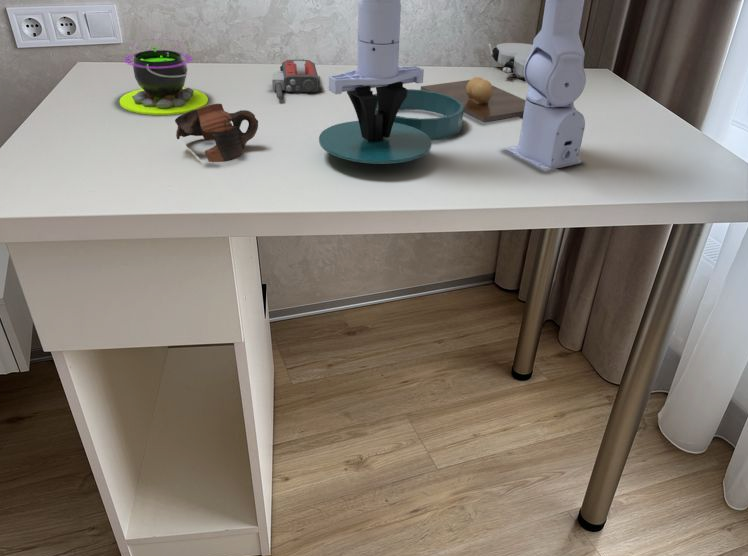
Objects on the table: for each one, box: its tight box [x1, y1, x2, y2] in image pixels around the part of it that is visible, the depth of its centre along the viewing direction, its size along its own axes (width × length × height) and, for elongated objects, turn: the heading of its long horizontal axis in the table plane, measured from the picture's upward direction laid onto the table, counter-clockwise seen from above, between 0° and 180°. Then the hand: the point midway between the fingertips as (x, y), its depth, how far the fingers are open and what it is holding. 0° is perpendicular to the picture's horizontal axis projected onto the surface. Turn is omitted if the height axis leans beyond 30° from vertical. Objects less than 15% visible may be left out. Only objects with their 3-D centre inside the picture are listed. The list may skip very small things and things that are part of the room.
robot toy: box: [488, 42, 533, 79], centre depth 150 cm, size 12×4×15 cm
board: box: [420, 79, 526, 123], centre depth 132 cm, size 20×14×1 cm
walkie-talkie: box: [271, 58, 320, 101], centre depth 132 cm, size 9×4×20 cm
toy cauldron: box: [119, 31, 209, 116], centre depth 120 cm, size 15×15×11 cm
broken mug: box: [174, 103, 259, 163], centre depth 104 cm, size 12×10×8 cm
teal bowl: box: [373, 88, 464, 141], centre depth 118 cm, size 16×16×4 cm
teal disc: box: [318, 110, 433, 165], centre depth 103 cm, size 17×17×5 cm
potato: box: [466, 76, 493, 104], centre depth 128 cm, size 6×4×4 cm
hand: (375, 136), depth 103 cm, fingers closed on teal disc, 2 cm apart
